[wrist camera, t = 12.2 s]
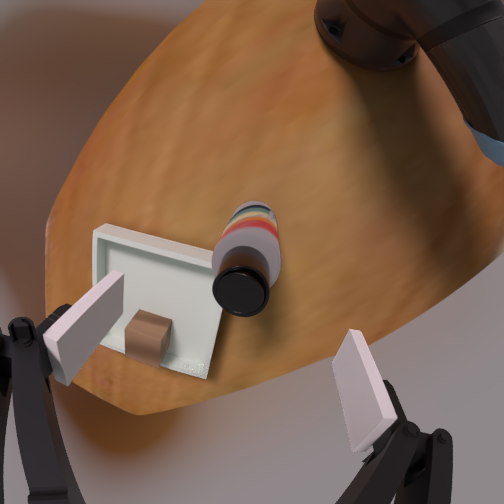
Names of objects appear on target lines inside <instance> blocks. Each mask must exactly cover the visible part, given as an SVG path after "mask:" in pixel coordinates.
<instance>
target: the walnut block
mask: <svg viewBox="0 0 504 504" xmlns="http://www.w3.org/2000/svg"><path fill="white" fill-rule="evenodd" d="M171 325H172V319H169V318H166V317H162V316H159V315H156V314H153V313H150V312H147V311H144V310H141V309H139V310H138V311H137V313H136V314H135V315H134V317H133V318H132V319H131V321H130V322H129V323H128V325H127V326H126V327H125V329H124V334H125V357H128V358H131V359H134V360H136V361H139V362H142V363H145V364H148V365H151V366H154V367H157V368H159V367H160V365H161V362H162V360H163V358H164V356H165V354H166V352H167V350H168V347H169V343H170V334H171Z"/></svg>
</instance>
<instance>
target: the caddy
mask: <svg viewBox="0 0 504 504" xmlns="http://www.w3.org/2000/svg"><path fill="white" fill-rule="evenodd" d="M213 252H214V251H210V250H206V249H202V248H198V247H194V246H191V245H187V244H183V243H179V242H175V241H171V240H167V239H164V238H160V237H156V236H152V235H148V234H144V233H141V232H137V231H133V230H129V229H125V228H122V227H118V226H114V225H110V224H107V223H106V224H104V225H102V226H100V227H98V228H97V229H95V230H93V251H92V278H93V287H94V286H95V285H96V284H97V283H98V282H100V281H101V280H102V279H103V278H104V277H105V276H106V275H108V274H109V273H110V272H111V271H112V270H115V271H118V272H121V273H124V298H123V314H122V315H121V317H120V318H119V319H118V320H117V322H116V323H115V324H114V325H113V327H112V328H111V329H110V331H109V332H108V333H107V334H106V336H105V337H104V338H103V340H102V341H101V342H100V343H99V344H101V345H104V346H106V347H109V348H111V349H114V350H116V351H119V352H122V353H124V354H125V334H124V329H125V327H126V326H127V325H128V323H129V322H130V321H131V319H132V318H133V317H134V315H135V314H136V313H137V311H138V310H139V309H141V310H144V311H147V312H150V313H153V314H156V315H159V316H162V317H166V318H169V319H172V325H171V334H170V343H169V347H168V350H167V352H166V354H165V356H164V358H163V360H162V362H161V365H160V366H162V367H165V368H168V369H172V370H175V371H178V372H182V373H185V374H189V375H192V376H196V377H200V378H204V379H206V378H207V374H208V370H209V367H210V362H211V358H212V354H213V349H214V345H215V341H216V336H217V332H218V328H219V323H220V319H221V315H222V311H223V308H222V307H221V306H220V305H219V304H218V303H217V302H216V300H215V298H214V296H213V292H212V285H213V282H214V279H215V276H214V274H213V271H212V264H211V261H212V255H213Z"/></svg>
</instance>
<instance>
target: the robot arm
mask: <svg viewBox="0 0 504 504" xmlns="http://www.w3.org/2000/svg"><path fill="white" fill-rule="evenodd" d="M314 19H315V24H316V27H317V29H318V31H319V33H320V35H321V37H322V38H323V39H324V41H325V42H326V43H327V44H328V46H329V47H330V48H331V49H332V50H334V51H335V52H336V53H337V54H338V55H340V56H341V57H343V58H344V59H346V60H347V61H349V62H351V63H353V64H355V65H357V66H360V67H362V68H365V69H369V70H374V71H391V70H395V69H398V68H400V67H402V66H404V65H405V64H407V63H409V62H410V61H411V60H412V59H413V58H414V57H415V56H416V55H417V53H418V51H419V49H420V47H421V48H422V49H423V50H424V52H425V53H426V55H427V56H428V58H429V59H430V60H431V62H432V63H433V65H434V66H435V68H436V69H437V71H438V72H439V74H440V76H441V77H442V79H443V80H444V82H445V84H446V85H447V87H448V89H449V91H450V92H451V94H452V96H453V98H454V100H455V101H456V103H457V105H458V107H459V109H460V111H461V113H462V115H463V120H464V122H465V123H466V125H467V126H468V128H469V129H471V131H472V133H473V135H474V137H475V139H476V141H477V144H478V146H479V148H480V149H481V151H482V152H483V153H484V155H485V156H486V157H488V158H489V159H491V160H492V161H493V162H494V163H496V164H498V165H500V166H502V167H504V4H503V3H502V1H501V0H317V3H316V6H315V10H314ZM480 25H481V26H480ZM473 28H474V29H473ZM471 29H472V30H471ZM462 33H463V34H462ZM460 34H461V35H460ZM458 35H459V36H458ZM456 36H457V37H456ZM454 37H455V38H454ZM440 44H441V45H440ZM438 45H439V46H438ZM436 46H437V47H436ZM434 47H435V48H434ZM432 48H433V49H432ZM123 298H124V273H121V272H118V271H115V270H112V271H111V272H110V273H109V274H108V275H106V276H105V277H104V278H103V279H102V280H101V281H100V282H98V283H97V284H96V285H95V286H94V287H93V288H92V289H91V290H89V291H88V292H87V293H86V294H85V295H84V296H83V297H82V298H81V299H79V300H78V301H77V302H76V303H75V304H74V305H73V306H72V305H69V304H65V305H62V306H60V307H58V308H57V309H56V310H55V311H54V312H53V314H51V315H49V316H48V318H46V319H45V320H44V321H43V322H42V323H41V324H40V325H39V326H38V327H37V328H36V329H35V327H34V323H33V321H32V320H31V319H29V318H27V317H18V318H15V319H13V320H12V321H11V322H10V323H9V325H8V330H9V333H10V336H6V335H3V334H2V331H1V328H0V504H4V489H3V463H4V445H5V434H6V425H7V418H8V411H9V405H10V399H11V393H13V406H14V416H15V424H16V431H17V438H18V444H19V449H20V454H21V459H22V464H23V467H24V472H25V476H26V480H27V483H28V487H29V490H30V494H29V495H28V504H86V503H85V501H84V499H83V497H82V494H81V492H80V489H79V487H78V484H77V482H76V479H75V477H74V474H73V471H72V468H71V465H70V463H69V460H68V457H67V453H66V450H65V446H64V443H63V440H62V436H61V432H60V428H59V424H58V420H57V416H56V411H55V407H54V401H53V396H52V390H51V385H50V380H49V375H50V374H51V373H52V371H53V374H54V377H55V380H57V381H59V382H61V383H63V384H65V385H67V386H69V384H70V383H71V381H72V380H73V379H74V377H75V376H76V374H77V373H78V372H79V370H80V369H81V368H82V366H83V365H84V363H85V362H86V361H87V359H88V358H89V357H90V355H91V354H92V353H93V351H94V350H95V349H96V347H97V346H98V345H99V343H100V342H101V341H102V340H103V338H104V337H105V336H106V334H107V333H108V332H109V331H110V329H111V328H112V327H113V325H114V324H115V323H116V322H117V320H118V319H119V318H120V317H121V315H122V314H123ZM331 364H332V368H333V372H334V376H335V380H336V384H337V388H338V392H339V396H340V400H341V404H342V409H343V413H344V417H345V422H346V426H347V431H348V435H349V440H350V444H351V449H352V452H361V451H366V450H367V449H369V447H371V446H372V445H373V448H374V451H373V452H372V453H371V454H370V455H369V456H368V457H367V458H365V459H364V460H363V461H362V462H365V461H366V462H365V463H364V465H363V466H362V468H361V469H360V471H359V472H358V474H357V475H356V477H355V478H354V480H353V481H352V482H351V484H350V485H349V486H348V488H347V489H346V490H345V492H344V493H343V494H342V496H341V497H340V498H339V499H338V501H337V502H336V503H335V504H390V503H391V501H392V499H393V497H394V496H395V494H396V496H395V500H394V504H450V503H451V491H452V473H453V443H452V442H453V441H452V437H451V435H450V434H449V432H447V431H446V430H444V429H440V428H439V429H436V430H435V431H434V432H433V433H432V434H427V433H423V432H420V429H419V428H418V426H417V425H416V424H414V423H413V422H410V421H407V419H406V416H405V414H404V411H403V409H402V407H401V404H400V402H399V399H398V397H397V396H396V392H395V390H394V388H393V386H392V385H391V384H390V383H389V382H388V381H387V380H382V378H381V376H380V373H379V371H378V369H377V366H376V364H375V362H374V360H373V357H372V355H371V353H370V350H369V348H368V346H367V344H366V341H365V339H364V337H363V335H362V333H361V331H358V330H353V329H349V331H348V333H347V335H346V337H345V339H344V341H343V343H342V345H341V347H340V348H339V350H338V352H337V354H336V356H335V358H334V360H333V362H332V363H331Z"/></svg>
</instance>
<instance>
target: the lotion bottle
mask: <svg viewBox="0 0 504 504" xmlns="http://www.w3.org/2000/svg"><path fill="white" fill-rule="evenodd" d="M211 264H212V271H213V274H214V276H215V279H214V282H213V285H212V292H213V296H214V298H215V300H216V302H217V303H218V304H219V305H220V306H221V307H222V308H223V309H224V310H225V311H227V312H229V313H231V314H233V315H236V316H240V317H250V316H254V315H256V314H258V313H259V312H261V311H262V310H263V309H264V307H265V306H266V304H267V302H268V299H269V293H270V287H272V286H273V284H274V283H275V282H276V280H277V278H278V276H279V273H280V269H281V256H280V247H279V239H278V231H277V223H276V218H275V214H274V212H273V211H272V209H271V208H270V207H269V206H268V205H266V204H265V203H263V202H260V201H248V202H245V203H243V204H242V205H240V206H239V207H238V208H237V209H236V211H235V212H234V214H233V216H232V217H231V219H230V221H229V223H228V225H227V226H226V228H225V230H224V232H223V234H222V236H221V237H220V239H219V241H218V243H217V245H216V247H215V249H214V252H213V255H212V261H211Z"/></svg>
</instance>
